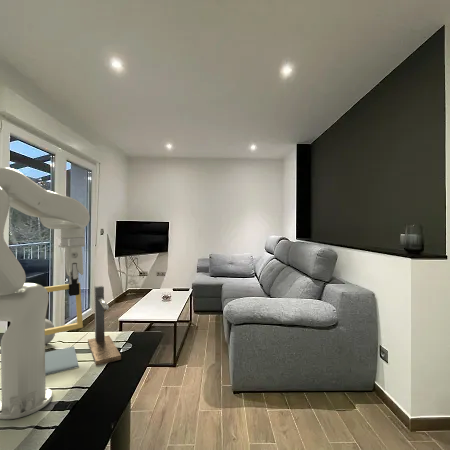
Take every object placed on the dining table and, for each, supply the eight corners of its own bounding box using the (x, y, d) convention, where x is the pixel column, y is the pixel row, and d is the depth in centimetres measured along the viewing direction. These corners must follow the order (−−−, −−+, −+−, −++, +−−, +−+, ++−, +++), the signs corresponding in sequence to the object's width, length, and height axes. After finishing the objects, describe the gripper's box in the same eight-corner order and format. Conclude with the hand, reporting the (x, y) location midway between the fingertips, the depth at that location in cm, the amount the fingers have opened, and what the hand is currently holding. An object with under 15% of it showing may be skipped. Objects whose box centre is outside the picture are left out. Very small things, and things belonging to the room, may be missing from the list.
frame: (82, 327, 105) (80, 283, 105) (36, 337, 98) (33, 289, 98) (82, 326, 107) (79, 282, 106) (36, 335, 100) (33, 288, 99)
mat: (78, 367, 97) (78, 365, 97) (35, 377, 91) (35, 375, 91) (74, 348, 112) (74, 346, 112) (36, 355, 106) (36, 354, 106)
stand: (120, 359, 102) (119, 294, 102) (95, 365, 98) (94, 297, 98) (109, 339, 121) (108, 284, 121) (87, 343, 117) (87, 286, 117)
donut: (57, 343, 117) (57, 318, 117) (50, 347, 114) (50, 321, 114) (37, 341, 120) (36, 316, 120) (29, 344, 116) (29, 319, 116)
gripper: (87, 243, 100) (88, 297, 100) (82, 241, 113) (83, 289, 113) (62, 244, 96) (63, 301, 96) (60, 242, 109) (60, 291, 109)
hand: (74, 294), depth 105 cm, fingers closed on frame, 1 cm apart
